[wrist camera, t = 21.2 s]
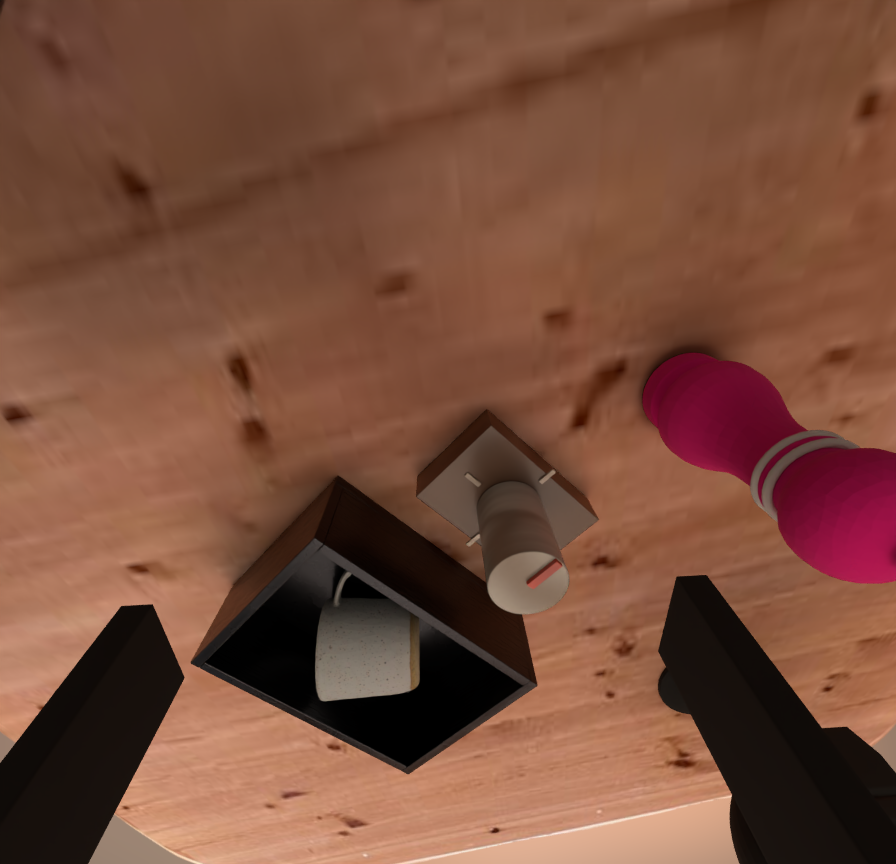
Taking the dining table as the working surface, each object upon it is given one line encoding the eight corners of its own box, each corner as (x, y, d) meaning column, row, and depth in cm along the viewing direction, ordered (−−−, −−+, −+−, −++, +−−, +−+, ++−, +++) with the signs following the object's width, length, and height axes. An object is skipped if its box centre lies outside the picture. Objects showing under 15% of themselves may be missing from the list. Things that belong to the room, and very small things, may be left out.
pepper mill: (747, 352, 33) (1117, 510, 15) (709, 440, 36) (981, 660, 18) (653, 338, 33) (921, 485, 15) (622, 429, 36) (813, 644, 18)
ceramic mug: (422, 640, 43) (420, 719, 36) (335, 642, 43) (316, 722, 36) (419, 549, 39) (416, 619, 32) (323, 551, 39) (299, 622, 32)
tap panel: (412, 481, 37) (410, 503, 34) (492, 403, 35) (497, 420, 32) (513, 558, 41) (519, 584, 38) (593, 494, 38) (606, 516, 35)
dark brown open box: (232, 585, 41) (189, 663, 34) (338, 475, 37) (314, 537, 30) (412, 690, 48) (408, 774, 41) (520, 607, 43) (537, 685, 36)
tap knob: (508, 545, 37) (527, 630, 29) (463, 511, 35) (470, 591, 27) (555, 506, 35) (588, 585, 28) (509, 468, 34) (531, 540, 26)
